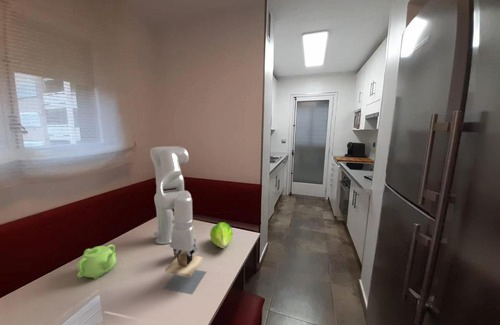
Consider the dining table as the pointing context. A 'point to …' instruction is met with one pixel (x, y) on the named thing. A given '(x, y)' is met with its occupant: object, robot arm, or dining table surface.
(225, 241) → the lettuce
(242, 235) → the dining table surface
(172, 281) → the mat
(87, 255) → the teapot
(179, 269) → the lid
